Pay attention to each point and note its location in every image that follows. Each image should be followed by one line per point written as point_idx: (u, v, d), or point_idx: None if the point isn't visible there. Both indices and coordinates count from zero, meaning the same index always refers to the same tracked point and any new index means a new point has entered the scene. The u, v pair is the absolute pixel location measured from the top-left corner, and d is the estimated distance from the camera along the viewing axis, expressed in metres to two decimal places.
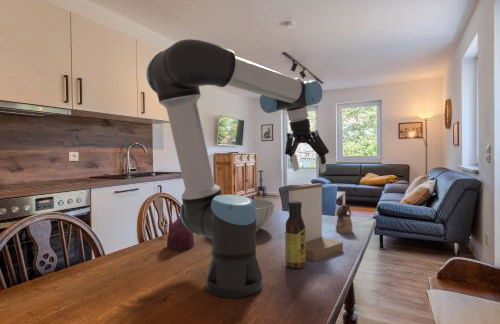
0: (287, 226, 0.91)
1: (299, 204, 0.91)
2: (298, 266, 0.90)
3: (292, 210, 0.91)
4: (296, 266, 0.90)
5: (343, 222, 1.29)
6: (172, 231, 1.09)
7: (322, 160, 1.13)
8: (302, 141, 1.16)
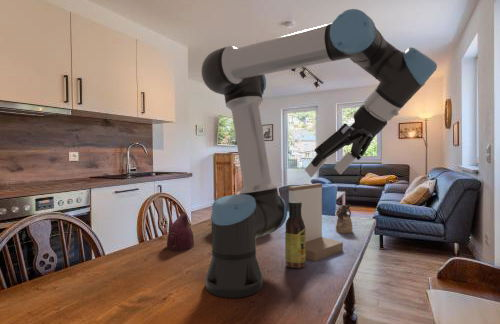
0: (287, 226, 0.91)
1: (299, 204, 0.91)
2: (298, 266, 0.90)
3: (292, 210, 0.91)
4: (296, 266, 0.90)
5: (343, 222, 1.29)
6: (172, 231, 1.09)
7: None
8: None
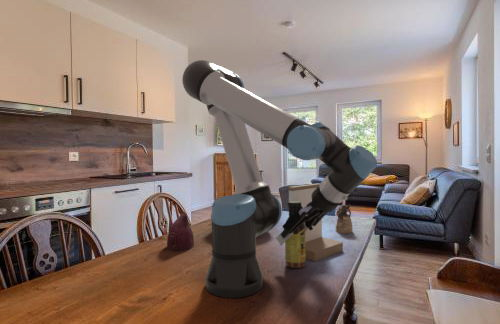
0: None
1: (299, 204, 0.91)
2: (298, 266, 0.90)
3: (291, 210, 0.91)
4: (296, 266, 0.90)
5: (343, 222, 1.29)
6: (172, 231, 1.09)
7: None
8: None
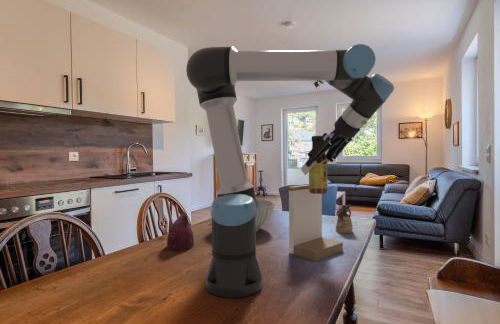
0: None
1: (321, 137, 1.02)
2: (321, 191, 1.01)
3: (315, 142, 1.02)
4: (319, 191, 1.01)
5: (343, 222, 1.29)
6: (172, 231, 1.09)
7: None
8: None
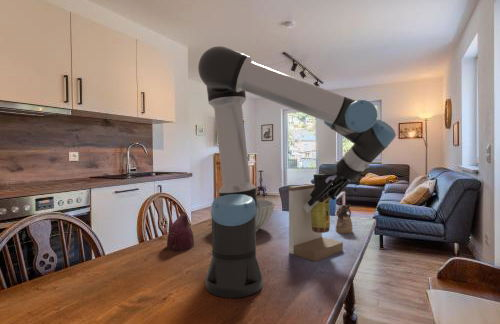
0: None
1: (323, 176, 1.02)
2: (324, 230, 1.01)
3: (317, 181, 1.03)
4: (322, 230, 1.01)
5: (343, 222, 1.29)
6: (172, 231, 1.09)
7: None
8: None
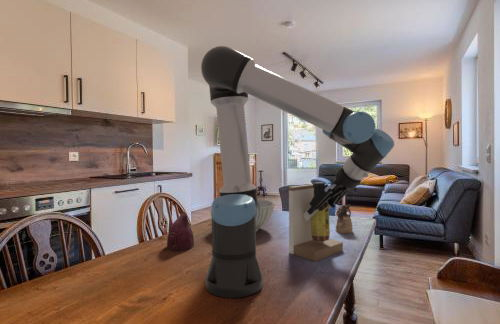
0: None
1: (323, 184, 1.02)
2: (323, 239, 1.01)
3: (316, 190, 1.03)
4: (322, 239, 1.01)
5: (343, 222, 1.29)
6: (172, 231, 1.09)
7: None
8: None
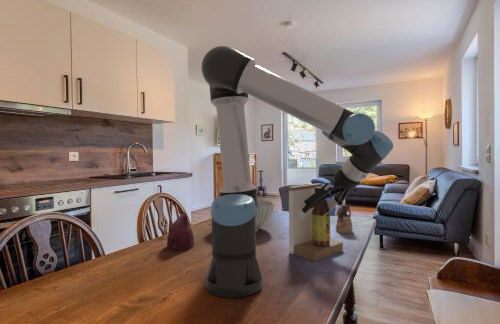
0: (314, 209, 1.03)
1: None
2: (324, 244, 1.01)
3: None
4: (322, 244, 1.01)
5: (343, 222, 1.29)
6: (172, 231, 1.09)
7: None
8: None
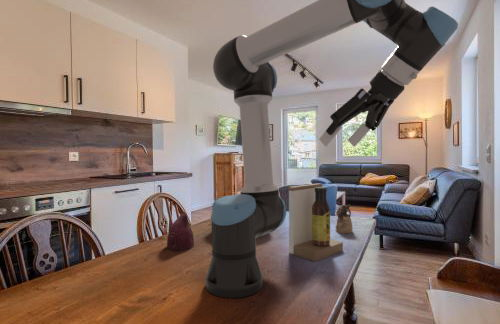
0: (314, 209, 1.03)
1: (324, 189, 1.03)
2: (324, 244, 1.01)
3: (318, 194, 1.03)
4: (322, 244, 1.01)
5: (343, 222, 1.29)
6: (172, 231, 1.09)
7: None
8: None
